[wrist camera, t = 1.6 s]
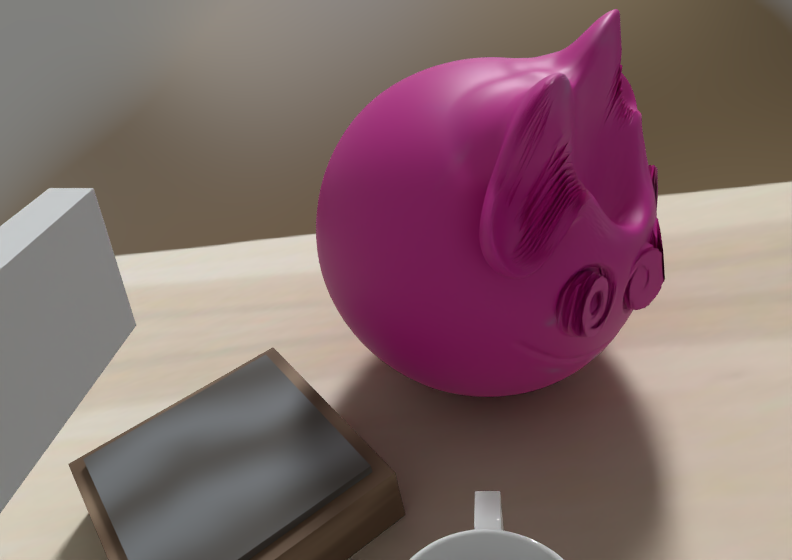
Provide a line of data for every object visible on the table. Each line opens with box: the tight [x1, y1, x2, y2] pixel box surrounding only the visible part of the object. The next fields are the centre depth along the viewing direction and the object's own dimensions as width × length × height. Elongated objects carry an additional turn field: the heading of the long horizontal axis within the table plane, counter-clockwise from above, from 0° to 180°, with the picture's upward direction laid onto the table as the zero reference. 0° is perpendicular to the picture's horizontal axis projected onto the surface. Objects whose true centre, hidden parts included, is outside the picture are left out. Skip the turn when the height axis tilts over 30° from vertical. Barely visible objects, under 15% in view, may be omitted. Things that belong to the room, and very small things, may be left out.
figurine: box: [316, 9, 665, 397], centre depth 47 cm, size 23×24×25 cm
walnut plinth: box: [69, 348, 405, 560], centre depth 44 cm, size 16×16×5 cm
